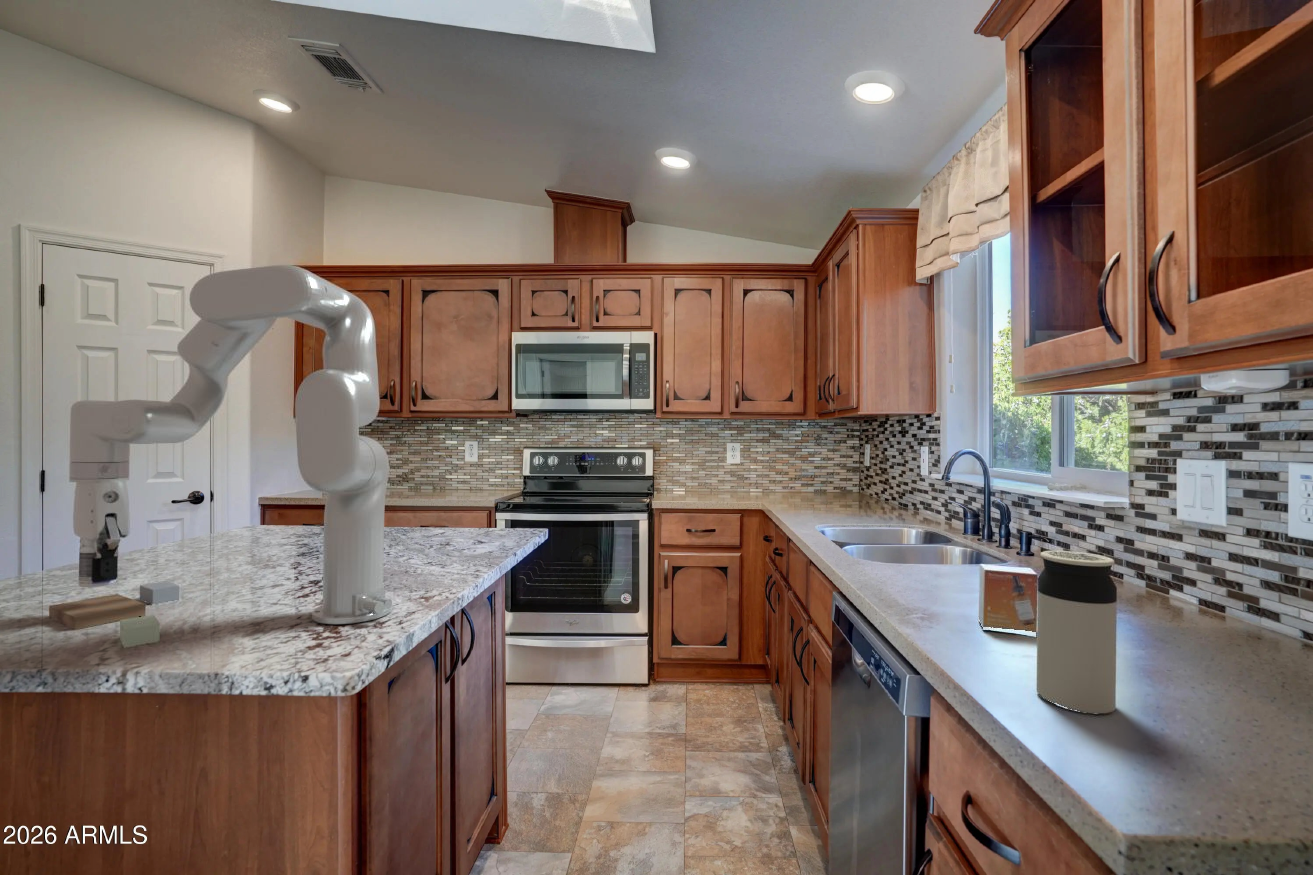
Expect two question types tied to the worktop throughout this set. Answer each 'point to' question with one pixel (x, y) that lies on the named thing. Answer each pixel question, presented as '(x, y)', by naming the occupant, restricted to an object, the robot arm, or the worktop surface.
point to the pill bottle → (89, 565)
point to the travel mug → (1077, 631)
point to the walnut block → (96, 611)
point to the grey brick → (159, 592)
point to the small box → (1008, 597)
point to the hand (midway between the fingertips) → (98, 577)
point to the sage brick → (139, 630)
